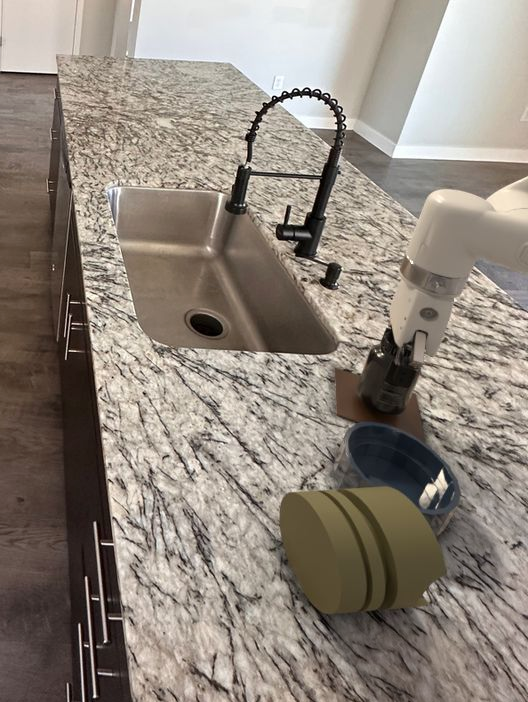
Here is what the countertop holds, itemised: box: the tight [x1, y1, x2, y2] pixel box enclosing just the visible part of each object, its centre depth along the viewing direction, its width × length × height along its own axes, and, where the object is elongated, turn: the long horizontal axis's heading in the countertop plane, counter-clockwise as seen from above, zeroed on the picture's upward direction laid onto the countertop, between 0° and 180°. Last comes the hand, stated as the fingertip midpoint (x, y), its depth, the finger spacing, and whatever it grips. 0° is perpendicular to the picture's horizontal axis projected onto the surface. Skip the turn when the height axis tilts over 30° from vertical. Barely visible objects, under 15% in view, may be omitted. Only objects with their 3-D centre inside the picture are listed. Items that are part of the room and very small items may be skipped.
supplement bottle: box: [357, 332, 422, 415], centre depth 84 cm, size 7×7×12 cm
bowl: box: [333, 422, 462, 538], centre depth 73 cm, size 13×13×6 cm
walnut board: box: [333, 367, 427, 445], centre depth 88 cm, size 12×11×1 cm
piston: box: [278, 486, 448, 615], centre depth 62 cm, size 11×12×11 cm
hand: (393, 365), depth 84 cm, fingers closed on supplement bottle, 6 cm apart
